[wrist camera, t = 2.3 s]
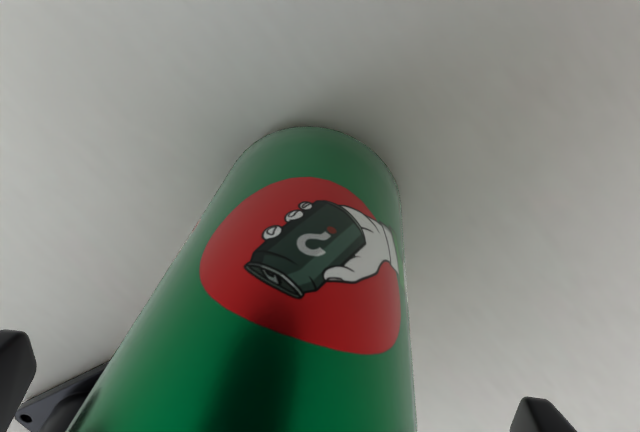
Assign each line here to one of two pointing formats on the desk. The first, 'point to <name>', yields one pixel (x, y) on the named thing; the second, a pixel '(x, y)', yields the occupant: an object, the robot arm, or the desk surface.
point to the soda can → (275, 305)
